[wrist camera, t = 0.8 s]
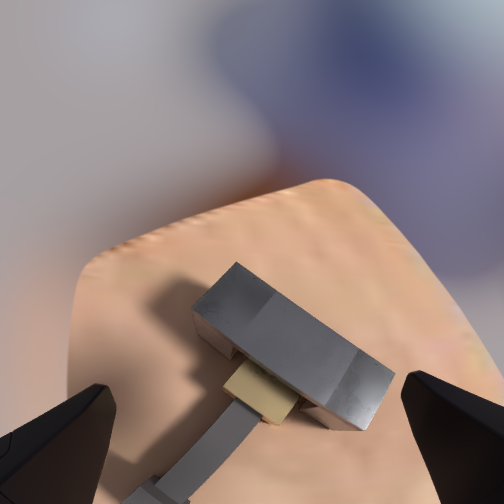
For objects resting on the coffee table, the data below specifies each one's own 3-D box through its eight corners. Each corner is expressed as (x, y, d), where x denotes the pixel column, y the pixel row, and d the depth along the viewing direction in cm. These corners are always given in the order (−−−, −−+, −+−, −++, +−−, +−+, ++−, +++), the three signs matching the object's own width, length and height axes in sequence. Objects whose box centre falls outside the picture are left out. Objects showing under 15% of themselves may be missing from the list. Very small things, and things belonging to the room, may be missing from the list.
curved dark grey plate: (332, 430, 16) (365, 430, 12) (196, 333, 19) (191, 307, 15) (360, 385, 18) (395, 373, 14) (232, 295, 21) (236, 261, 17)
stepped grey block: (164, 524, 10) (153, 544, 7) (129, 497, 11) (110, 511, 8) (264, 420, 16) (275, 421, 13) (228, 395, 17) (231, 389, 14)
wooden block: (269, 424, 16) (278, 425, 14) (222, 390, 17) (223, 386, 15) (310, 368, 19) (324, 360, 16) (265, 337, 20) (273, 324, 17)
